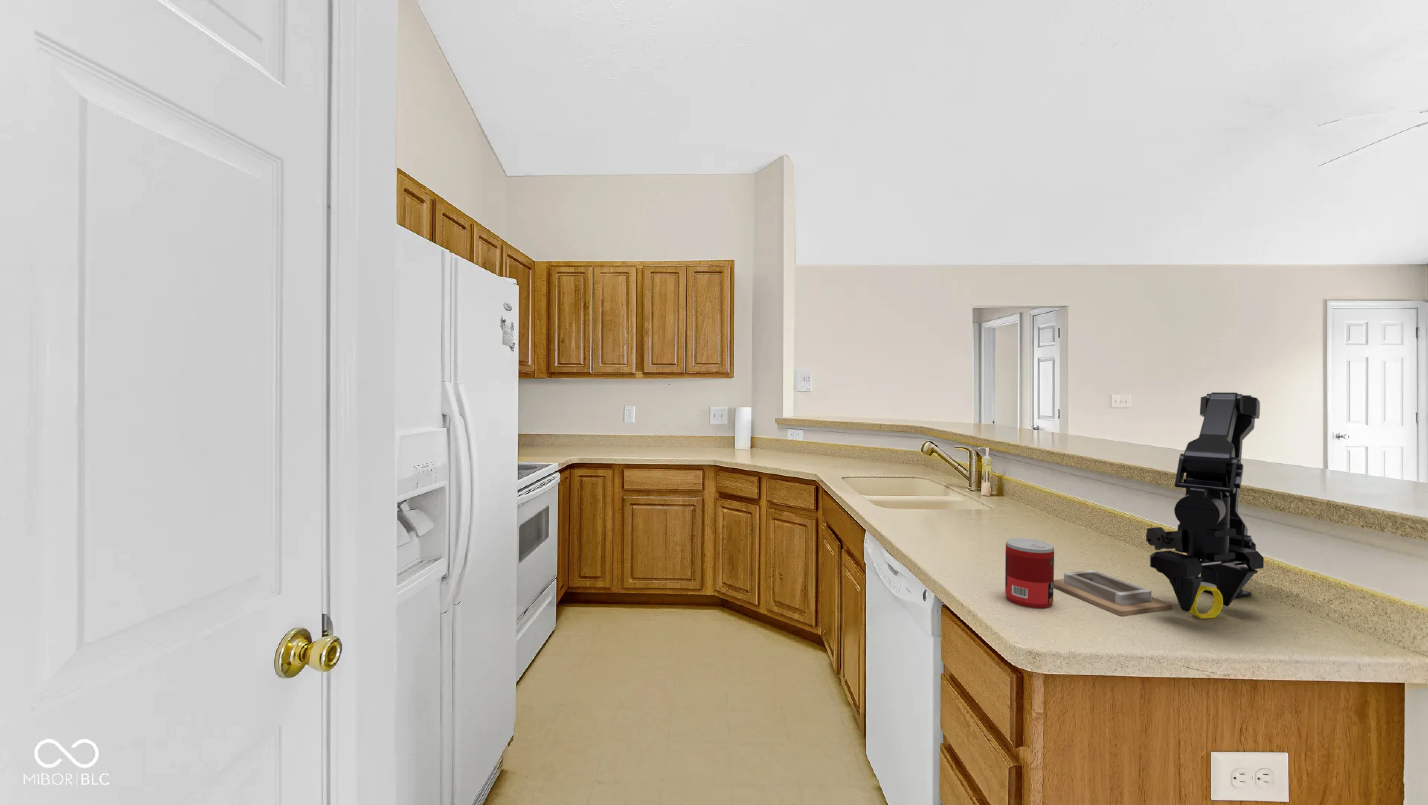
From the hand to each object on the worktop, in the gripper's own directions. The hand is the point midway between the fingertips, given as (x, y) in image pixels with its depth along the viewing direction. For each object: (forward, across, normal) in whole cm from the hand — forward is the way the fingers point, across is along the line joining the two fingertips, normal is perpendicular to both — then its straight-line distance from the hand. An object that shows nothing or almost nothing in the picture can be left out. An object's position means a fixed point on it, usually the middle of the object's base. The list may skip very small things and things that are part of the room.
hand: (1205, 608), depth 98 cm
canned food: (+2, +24, -14) cm, 28 cm away
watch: (+2, 0, 0) cm, 2 cm away
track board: (+2, +8, -12) cm, 14 cm away
